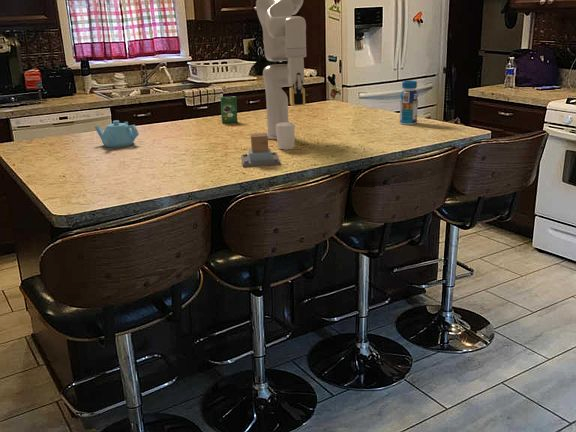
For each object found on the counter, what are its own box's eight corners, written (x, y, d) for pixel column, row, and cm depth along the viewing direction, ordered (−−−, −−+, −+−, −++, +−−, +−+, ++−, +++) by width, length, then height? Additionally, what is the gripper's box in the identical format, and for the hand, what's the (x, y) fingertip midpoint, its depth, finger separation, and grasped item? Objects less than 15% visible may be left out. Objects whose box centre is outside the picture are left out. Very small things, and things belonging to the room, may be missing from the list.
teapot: (107, 150, 259) (103, 125, 255) (96, 144, 271) (92, 120, 267) (141, 145, 267) (138, 120, 263) (129, 139, 279) (126, 116, 275)
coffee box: (237, 121, 313) (235, 95, 309) (238, 122, 311) (236, 96, 306) (221, 122, 312) (219, 96, 307) (222, 123, 309) (220, 97, 305)
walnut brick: (251, 149, 232) (250, 133, 231) (267, 148, 233) (266, 132, 231) (252, 152, 227) (251, 136, 225) (268, 151, 227) (267, 135, 225)
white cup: (279, 150, 247) (278, 126, 243) (274, 147, 254) (273, 123, 251) (297, 149, 249) (297, 124, 245) (292, 145, 256) (291, 121, 252)
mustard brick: (290, 103, 229) (289, 87, 227) (303, 103, 230) (302, 87, 228) (291, 105, 224) (291, 89, 222) (305, 105, 225) (304, 88, 223)
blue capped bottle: (396, 122, 294) (397, 80, 288) (411, 121, 297) (413, 79, 290) (404, 125, 287) (405, 82, 280) (420, 124, 289) (422, 81, 282)
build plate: (241, 158, 237) (240, 147, 236) (276, 155, 238) (276, 145, 237) (242, 166, 224) (242, 155, 223) (280, 164, 225) (279, 153, 224)
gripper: (282, 51, 228) (284, 100, 234) (289, 55, 212) (290, 107, 218) (302, 50, 229) (303, 99, 235) (310, 54, 213) (311, 106, 219)
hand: (297, 102), depth 227 cm, fingers closed on mustard brick, 5 cm apart
